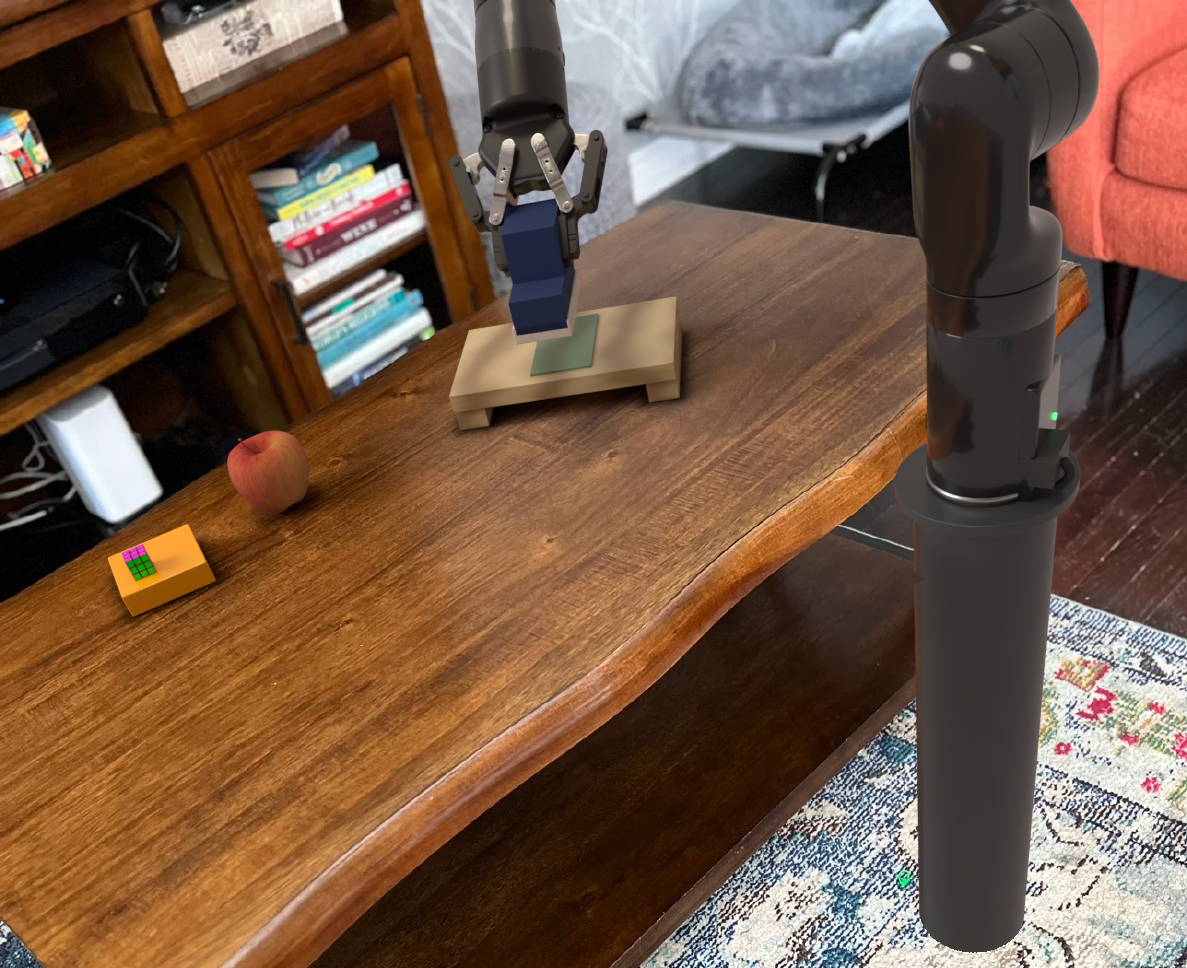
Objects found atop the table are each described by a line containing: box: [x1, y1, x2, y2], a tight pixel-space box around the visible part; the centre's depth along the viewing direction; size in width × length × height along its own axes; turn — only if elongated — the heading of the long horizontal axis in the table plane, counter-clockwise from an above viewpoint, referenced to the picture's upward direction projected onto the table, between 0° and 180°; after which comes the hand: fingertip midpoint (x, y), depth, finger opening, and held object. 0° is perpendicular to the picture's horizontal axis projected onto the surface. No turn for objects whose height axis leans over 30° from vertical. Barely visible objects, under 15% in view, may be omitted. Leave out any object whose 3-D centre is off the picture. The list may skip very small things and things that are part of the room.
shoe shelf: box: [448, 296, 683, 431], centre depth 123 cm, size 22×14×4 cm, turn 86°
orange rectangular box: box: [107, 523, 217, 618], centre depth 112 cm, size 8×8×4 cm
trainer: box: [501, 197, 582, 345], centre depth 106 cm, size 10×5×8 cm, turn 176°
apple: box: [227, 430, 310, 515], centre depth 116 cm, size 7×7×8 cm
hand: (538, 268), depth 105 cm, fingers closed on trainer, 4 cm apart
